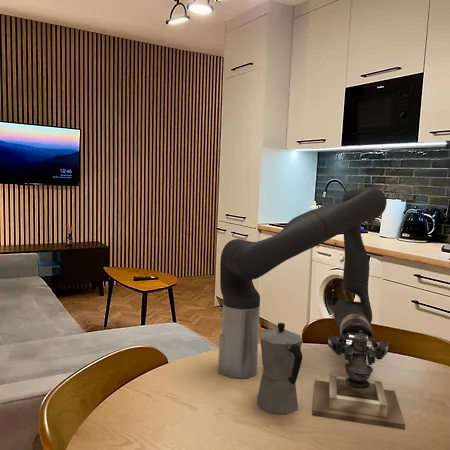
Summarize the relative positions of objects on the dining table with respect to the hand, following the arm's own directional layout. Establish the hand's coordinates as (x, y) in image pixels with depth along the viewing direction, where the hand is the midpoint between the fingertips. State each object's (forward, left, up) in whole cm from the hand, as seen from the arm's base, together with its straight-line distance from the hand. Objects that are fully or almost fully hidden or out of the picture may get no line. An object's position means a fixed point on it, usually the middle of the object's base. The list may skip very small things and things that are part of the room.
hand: (360, 359), depth 94 cm
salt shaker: (0, +3, -7) cm, 7 cm away
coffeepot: (-16, -3, -11) cm, 20 cm away
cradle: (0, +3, -11) cm, 12 cm away
